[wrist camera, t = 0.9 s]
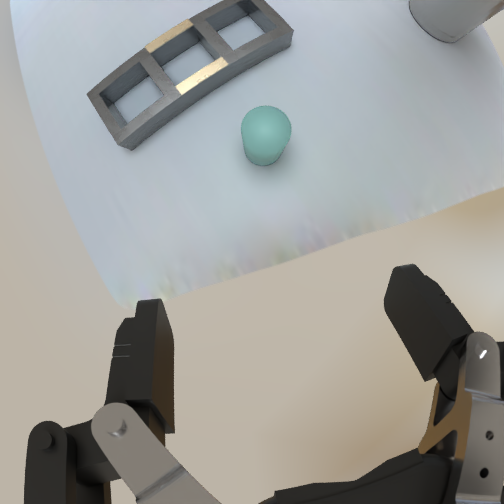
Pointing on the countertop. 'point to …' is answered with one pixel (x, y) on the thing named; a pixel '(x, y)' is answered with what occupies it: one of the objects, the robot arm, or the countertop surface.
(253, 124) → the peg
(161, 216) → the countertop surface
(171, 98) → the rail
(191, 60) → the countertop surface
